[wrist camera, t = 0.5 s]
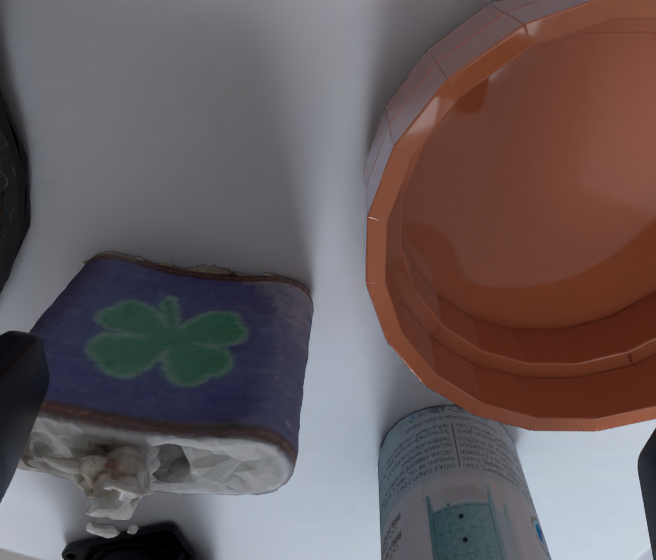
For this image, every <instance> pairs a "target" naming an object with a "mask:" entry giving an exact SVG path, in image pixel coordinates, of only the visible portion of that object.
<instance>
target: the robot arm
mask: <svg viewBox="0 0 656 560" xmlns="http://www.w3.org/2000/svg"><path fill="white" fill-rule="evenodd" d="M49 381H50V375H49V369H48V365H47V360H46V355H45V351H44V346H43V342H42V339H41V338H40V336H39V335H37V334H35V333H28V332H20V331H8V332H6V333H4V334H2V335H0V503H1V501H2V499H3V497H4V495H5V493H6V491H7V489H8V487H9V485H10V482H11V480H12V478H13V475H14V473H15V471H16V468H17V466H18V463H19V461H20V458H21V456H22V453H23V451H24V448H25V446H26V443H27V441H28V438H29V436H30V433H31V431H32V428H33V426H34V423H35V421H36V418H37V416H38V413H39V411H40V408H41V406H42V403H43V401H44V398H45V396H46V393H47V390H48V387H49ZM638 474H639V480H640V486H641V491H642V497H643V503H644V508H645V514H646V520H647V526H648V531H649V537H650V543H651V548H652V554H653V559H654V560H656V428H655V430H654V432H653V433H652V435H651V437H650V438H649V440H648V441H647V443H646V445H645V446H644V448H643V450H642V451H641V453H640V455H639V459H638ZM62 557H63V559H64V560H199V559H198V557H197V556H196V554H195V553H194V551H193V550H192V548H191V547H190V545H189V544H188V542H187V541H186V540H185V538H184V537H183V535H182V534H181V532H180V531H179V529H178V528H177V527H176V526H175V525H173V524H170V523H164V524H159V525H155V526H150V527H145V528H141V529H138V531H137V532H136V533H135V534H131V533H127V532H122V533H120V534H118V535H117V536H115V537H112V538H105V537H99V538H94V539H89V540H84V541H80V542H75V543H70V544H68V545H66V546H65V548H64V550H63V552H62Z"/></svg>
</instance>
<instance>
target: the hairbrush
mask: <svg viewBox="0 0 656 560" xmlns="http://www.w3.org/2000/svg"><path fill="white" fill-rule="evenodd" d="M29 225H30V213H29V190H28V167H27V155H26V152H25V150H24V147H23V144H22V142H21V139H20V137H19V134H18V132H17V129H16V127H15V124H14V122H13V119H12V117H11V114H10V112H9V109H8V107H7V104H6V102H5V99H4V96H3V94H2V91H1V89H0V293H1V291H2V289H3V286H4V284H5V283H6V281H7V280H8V278H9V275H10V272H11V269H12V266H13V263H14V260H15V258H16V256H17V253H18V251H19V249H20V246H21V244H22V242H23V239H24V237H25V235H26V232H27V230H28V228H29Z"/></svg>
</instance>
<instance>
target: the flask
mask: <svg viewBox="0 0 656 560" xmlns="http://www.w3.org/2000/svg"><path fill="white" fill-rule="evenodd" d="M83 262H84V264H85V265H84V266H83V268H82V269H81V270H80V272H79V273H78V274H77V275H76V276H75V277H74V278H73V279H72V280H71V281H70V283H69V284H68V286H67V287H66V288H65V290H64V291H63V292H62V293H61V294H60V295H59V296H58V297H57V299H56V300H55V301H54V303H53V304H52V305H51V306H50V307H49V308H48V309H47V310H46V311H45V312H44V313H43V314H42V316H41V317H40V318H39V319H38V321H37V322H36V324H35V325H34V327H33V328H32V329H31V331H30V332H29V333H35V334H37V335H39V336H40V338H41V339H42V342H43V346H44V351H45V355H46V360H47V365H48V369H49V375H50V381H49V387H48V390H47V393H46V396H45V398H44V401H43V403H42V406H41V408H40V411H39V413H38V416H37V418H36V421H35V423H34V426H33V428H32V431H31V433H30V436H29V438H28V441H27V443H26V446H25V448H24V451H23V453H22V456H21V458H20V461H19V463H18V466H17V468H18V469H23V470H28V471H39V472H44V473H48V474H51V475H54V476H57V477H61V478H65V479H70V480H74V481H76V484H77V485H78V487H79V488H80V489H81V490H82V491H84V492H85V494H86V495H87V496H88V497H89V498H94V503H93V505H92V507H91V508H90V509H89V510H84V513H86V514H88V515H89V516H94V517H99V518H105V517H109V518H110V519H113V520H129V519H130V518H131V517H132V516H133V512H134V510H135V508H136V507H137V505H138V503H139V499H141V498H142V496H148V495H151V494H153V493H152V492H170V493H177V494H220V495H243V494H253V495H260V494H266V493H270V492H274V491H277V490H278V489H279V488H280V487H281V486H283V485H284V484H286V483H287V482H288V480H289V479H290V478H291V476H292V475H293V472H294V468H295V464H296V459H297V455H298V434H299V428H300V411H301V406H302V399H303V384H304V378H305V369H306V365H307V360H308V346H309V338H310V331H311V324H312V316H313V312H314V309H313V302H312V299H311V296H310V293H309V290H308V289H307V288H305V287H303V286H302V285H300V284H299V283H297V282H294V281H291V280H290V279H288V278H285V277H279V276H278V275H277V276H276V275H274V274H272V273H270V274H268V273H263V274H262V275H263V276H260V277H259V276H252V275H246V274H239V273H238V272H231V271H230V269H225V268H218V267H216V266H215V265H213V266H205V265H200V266H197V265H196V268H194V267H191V268H186V269H182V268H181V269H180V268H177V267H174V265H173V264H172V262H171V261H169V262H168V263H166V262H164V263H160V264H155V263H149V262H147V261H146V260H144V259H141V257H140V256H139V257H131V256H129V257H128V256H126V255H123V254H116V253H112V252H109V251H106V252H103V253H100V254H98V255H96V256H94V257H92V258H91V259H90V260H87V261H83ZM138 527H139V526H136V525H130V526H129V527H128V531H127V533H131V534H135V533H136V532H137V531H138ZM86 530H87V532H90V533H93V534H96V535H99V536H102V537H105V538H112V537H115V536H117V535H118V534H120V532H119V530H118V529H117V528H116V527H115V526H114V525H113V524H112V525H110V524H96V523H94V522H92V521H89V522H88V523H87V524H86Z"/></svg>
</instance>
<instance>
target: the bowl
mask: <svg viewBox="0 0 656 560" xmlns="http://www.w3.org/2000/svg"><path fill="white" fill-rule="evenodd" d="M386 106H387V107H385V109H384V112H383V115H382V118H381V121H380V123H379V126H378V129H377V132H376V135H375V138H374V140H373V143H372V146H371V149H370V152H369V155H368V158H367V160H366V163H365V169H364V248H365V278H366V286H367V289H368V292H369V295H370V297H371V300H372V303H373V306H374V309H375V311H376V314H377V317H378V320H379V322H380V325H381V328H382V331H383V334H384V336H385V339H386V340H387V342H388V344H389V345H390V346H391V347H392V348H393V349H394V351H395V352H396V353H397V354H398V355H399V357H400V358H401V359H402V360H403V361H404V363H405V364H406V365H407V366H408V367H409V368H410V370H411V371H412V372H413V373H414V374H415V376H416V377H417V378H418V379H419V380H420V381H421V383H422V384H424V385H425V386H426V387H428V388H430V389H431V390H433V391H435V392H436V393H438V394H440V395H441V396H443V397H445V398H446V399H448V400H449V401H451V402H453V403H454V404H456V405H458V406H459V407H461V408H463V409H464V410H466V411H468V412H469V413H471V414H474V415H475V416H478V417H482V418H486V419H490V420H493V421H497V422H501V423H505V424H508V425H512V426H516V427H520V428H523V429H527V430H533V431H593V432H595V431H601V430H606V429H611V428H615V427H620V426H625V425H629V424H634V423H639V422H643V421H648V420H653V419H656V0H499V1H496V2H493V3H491V4H490V5H487V6H486V7H485V8H483V9H482V10H481V11H479V12H478V13H477V14H475V15H474V16H473V17H471V18H470V19H468V20H467V21H466V22H464V23H463V24H462V25H460V26H459V27H458V28H456V29H455V30H454V31H452V32H451V33H449V34H448V35H447V36H445V37H444V38H443V39H441V40H440V41H439V42H437V43H436V44H435V45H433V46H432V47H430V49H429V50H427V51H426V53H425V54H424V55H423V57H422V58H421V59H420V61H419V62H418V63H417V65H416V66H415V67H414V69H413V70H412V71H411V73H410V74H409V75H408V77H407V78H406V79H405V81H404V82H403V83H402V85H401V86H400V87H399V89H398V90H397V91H396V93H395V94H394V95H393V97H392V98H391V99H390V101H389V102H388V103H387V105H386Z"/></svg>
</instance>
